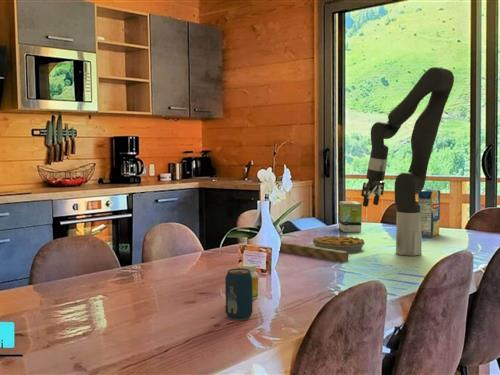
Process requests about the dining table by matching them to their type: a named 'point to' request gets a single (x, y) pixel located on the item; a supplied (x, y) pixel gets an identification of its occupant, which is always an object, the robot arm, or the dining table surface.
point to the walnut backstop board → (314, 251)
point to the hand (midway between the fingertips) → (370, 205)
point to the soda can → (238, 294)
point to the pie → (339, 243)
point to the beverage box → (429, 212)
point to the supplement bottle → (255, 278)
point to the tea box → (350, 216)
